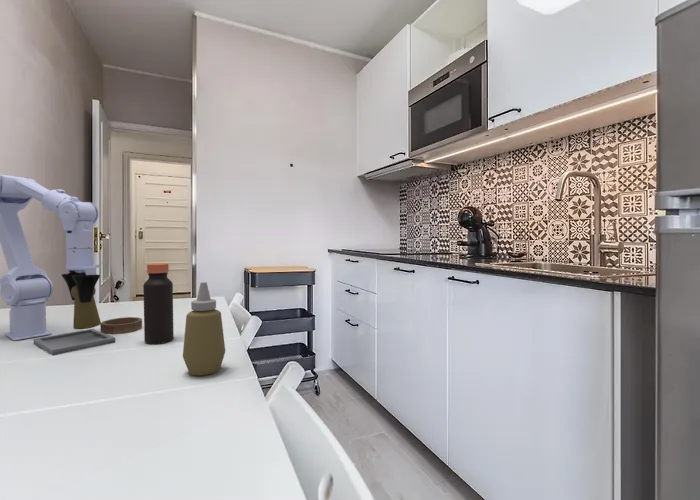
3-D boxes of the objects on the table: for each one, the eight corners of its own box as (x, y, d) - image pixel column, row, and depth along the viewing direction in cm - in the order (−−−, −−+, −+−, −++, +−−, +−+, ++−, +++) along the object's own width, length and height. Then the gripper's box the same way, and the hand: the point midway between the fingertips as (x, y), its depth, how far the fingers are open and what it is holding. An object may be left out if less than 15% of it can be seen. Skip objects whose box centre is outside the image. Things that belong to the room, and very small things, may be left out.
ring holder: (95, 330, 107) (95, 321, 107) (132, 323, 115) (132, 315, 115) (109, 336, 101) (109, 327, 101) (147, 328, 109) (147, 320, 109)
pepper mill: (88, 329, 94) (83, 287, 93) (67, 329, 95) (61, 287, 94) (106, 322, 100) (102, 282, 99) (86, 321, 101) (82, 282, 100)
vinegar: (152, 346, 92) (150, 265, 91) (139, 341, 96) (138, 264, 95) (178, 340, 98) (177, 264, 97) (165, 335, 102) (164, 262, 101)
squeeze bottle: (190, 364, 79) (189, 280, 78) (229, 363, 80) (229, 280, 79) (176, 379, 71) (174, 285, 70) (219, 378, 72) (218, 285, 71)
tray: (33, 343, 94) (33, 338, 94) (92, 332, 104) (92, 328, 104) (52, 355, 85) (52, 350, 85) (115, 342, 95) (115, 337, 95)
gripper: (109, 248, 95) (110, 301, 95) (87, 247, 103) (88, 296, 104) (76, 249, 89) (77, 306, 90) (55, 248, 98) (57, 299, 98)
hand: (81, 301), depth 96 cm, fingers closed on pepper mill, 5 cm apart
